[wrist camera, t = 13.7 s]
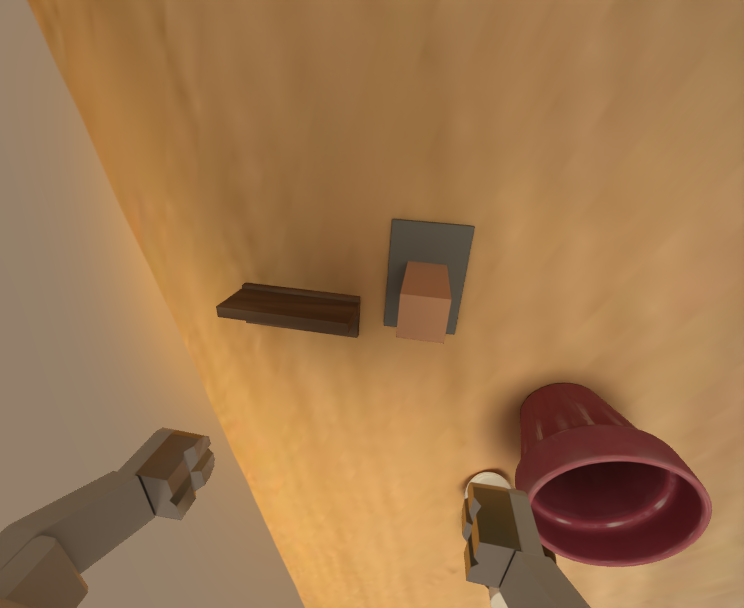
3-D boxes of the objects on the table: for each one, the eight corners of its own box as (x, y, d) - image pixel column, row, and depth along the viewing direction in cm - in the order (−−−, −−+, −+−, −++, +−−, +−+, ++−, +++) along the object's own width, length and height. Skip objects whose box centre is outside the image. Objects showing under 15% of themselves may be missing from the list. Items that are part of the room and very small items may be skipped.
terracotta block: (408, 260, 34) (400, 293, 26) (446, 264, 34) (451, 299, 26) (404, 296, 36) (396, 337, 28) (441, 300, 35) (443, 343, 27)
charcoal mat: (393, 218, 33) (392, 219, 33) (474, 225, 32) (474, 227, 32) (384, 323, 38) (383, 325, 38) (454, 332, 37) (454, 334, 37)
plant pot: (645, 367, 35) (748, 470, 24) (611, 461, 41) (680, 581, 30) (505, 359, 38) (537, 449, 26) (491, 449, 43) (512, 554, 32)
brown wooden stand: (245, 282, 39) (215, 303, 34) (360, 296, 37) (348, 320, 32) (249, 319, 41) (222, 344, 36) (358, 334, 40) (347, 362, 34)
